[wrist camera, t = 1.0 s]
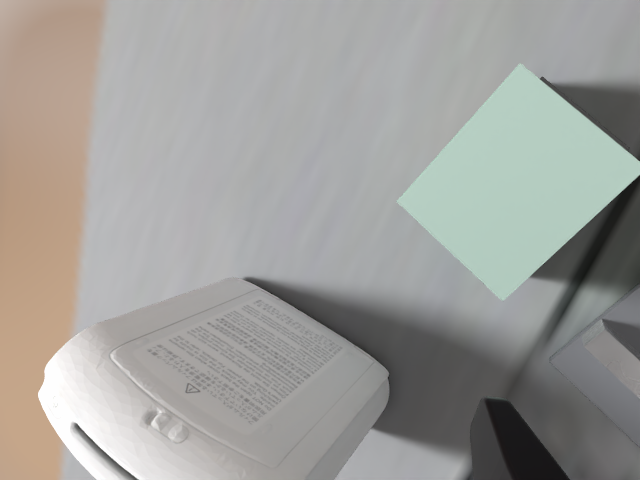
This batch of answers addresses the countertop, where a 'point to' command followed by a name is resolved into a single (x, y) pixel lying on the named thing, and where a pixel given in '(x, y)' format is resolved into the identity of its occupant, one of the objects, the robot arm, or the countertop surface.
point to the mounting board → (609, 363)
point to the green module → (519, 181)
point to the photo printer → (213, 391)
